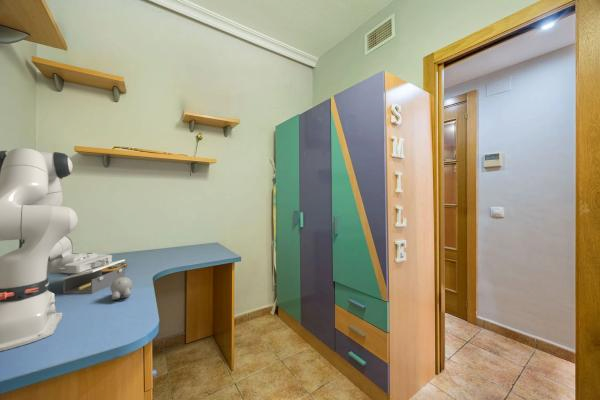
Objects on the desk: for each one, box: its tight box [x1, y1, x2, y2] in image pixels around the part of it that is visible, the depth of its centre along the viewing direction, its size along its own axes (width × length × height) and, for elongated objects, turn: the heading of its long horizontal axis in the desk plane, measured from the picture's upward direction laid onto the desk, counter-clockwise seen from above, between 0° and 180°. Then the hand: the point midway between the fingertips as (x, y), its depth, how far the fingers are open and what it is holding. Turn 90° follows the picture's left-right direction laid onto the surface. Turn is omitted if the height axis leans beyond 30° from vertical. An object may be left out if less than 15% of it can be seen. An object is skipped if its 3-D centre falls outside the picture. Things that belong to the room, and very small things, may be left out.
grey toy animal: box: [109, 276, 133, 301], centre depth 99 cm, size 7×12×8 cm, turn 36°
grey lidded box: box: [62, 267, 126, 295], centre depth 111 cm, size 20×13×6 cm, turn 3°
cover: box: [61, 259, 126, 280], centre depth 111 cm, size 20×13×1 cm, turn 3°
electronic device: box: [102, 262, 128, 275], centre depth 133 cm, size 8×16×3 cm, turn 18°
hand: (107, 263), depth 111 cm, fingers closed, pressing on cover
